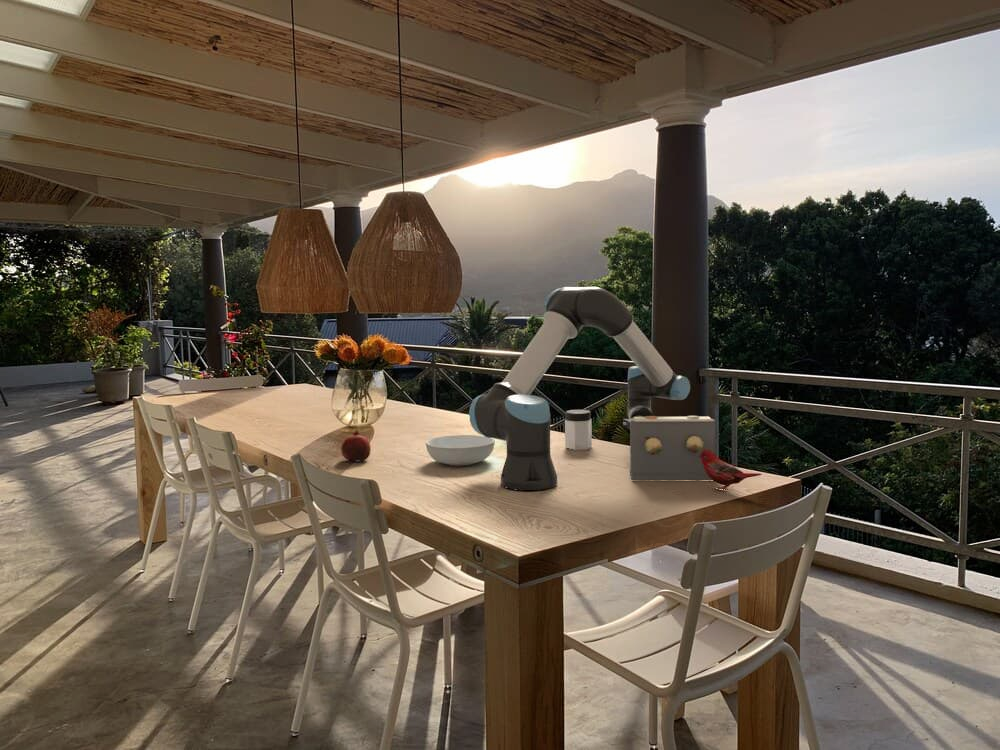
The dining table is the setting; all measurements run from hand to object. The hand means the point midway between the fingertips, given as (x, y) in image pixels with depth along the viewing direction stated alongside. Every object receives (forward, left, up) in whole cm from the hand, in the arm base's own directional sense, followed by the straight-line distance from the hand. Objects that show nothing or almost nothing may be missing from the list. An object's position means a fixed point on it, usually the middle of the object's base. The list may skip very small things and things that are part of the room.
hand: (648, 433), depth 207 cm
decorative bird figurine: (-11, -28, -10) cm, 32 cm away
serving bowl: (-24, +51, -11) cm, 57 cm away
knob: (-3, -14, -2) cm, 15 cm away
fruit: (-40, +80, -11) cm, 90 cm away
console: (-7, -10, -10) cm, 16 cm away
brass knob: (-10, -6, -2) cm, 12 cm away
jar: (+13, +32, -10) cm, 36 cm away
